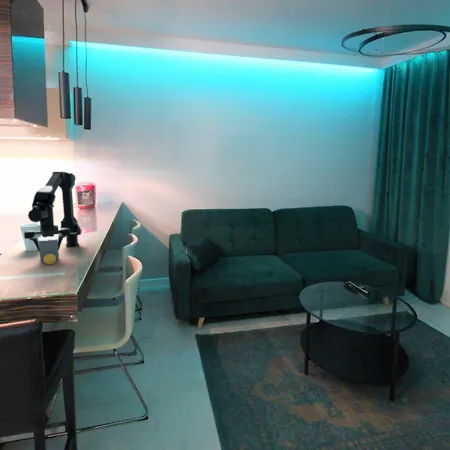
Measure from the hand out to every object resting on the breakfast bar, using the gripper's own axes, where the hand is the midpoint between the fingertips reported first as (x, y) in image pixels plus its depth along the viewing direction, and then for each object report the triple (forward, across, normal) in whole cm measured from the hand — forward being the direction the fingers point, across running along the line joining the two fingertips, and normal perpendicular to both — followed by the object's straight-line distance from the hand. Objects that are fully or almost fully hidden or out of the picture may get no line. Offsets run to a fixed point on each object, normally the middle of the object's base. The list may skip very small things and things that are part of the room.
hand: (49, 250), depth 160 cm
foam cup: (+5, -7, +24) cm, 26 cm away
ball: (+2, 0, -7) cm, 8 cm away
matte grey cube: (+3, 0, 0) cm, 3 cm away
